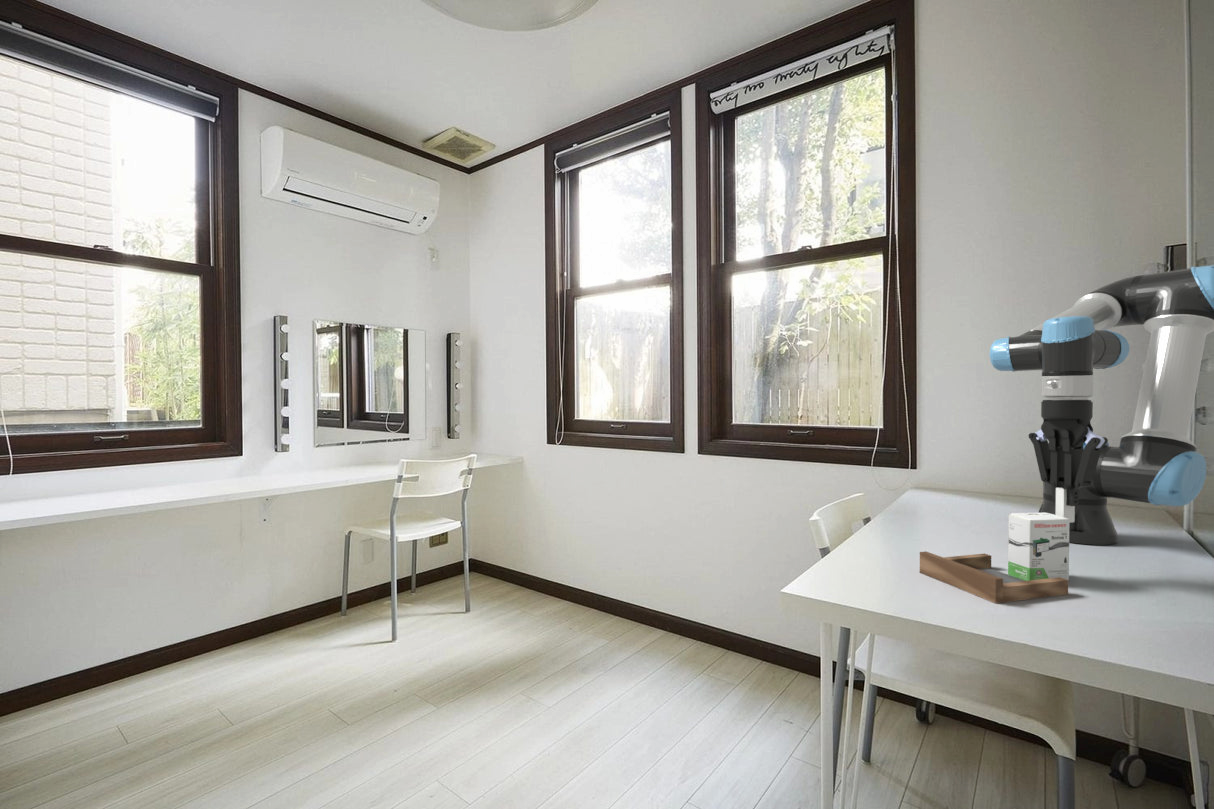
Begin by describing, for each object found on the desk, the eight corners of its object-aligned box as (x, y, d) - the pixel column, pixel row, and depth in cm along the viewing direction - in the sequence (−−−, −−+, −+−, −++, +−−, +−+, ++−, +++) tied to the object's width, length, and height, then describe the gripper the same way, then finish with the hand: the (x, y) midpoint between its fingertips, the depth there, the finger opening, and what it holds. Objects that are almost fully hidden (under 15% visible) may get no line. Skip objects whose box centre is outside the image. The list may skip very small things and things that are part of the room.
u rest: (984, 565, 110) (984, 546, 110) (1068, 594, 94) (1068, 571, 94) (919, 572, 106) (919, 552, 106) (995, 603, 91) (995, 579, 91)
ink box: (1029, 583, 100) (1030, 519, 100) (1006, 574, 105) (1006, 513, 104) (1071, 580, 101) (1071, 517, 101) (1045, 572, 106) (1046, 511, 106)
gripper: (1017, 398, 110) (1016, 515, 110) (1088, 399, 97) (1086, 531, 98) (1047, 398, 111) (1045, 513, 112) (1120, 398, 99) (1118, 528, 99)
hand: (1064, 521), depth 105 cm, fingers closed
